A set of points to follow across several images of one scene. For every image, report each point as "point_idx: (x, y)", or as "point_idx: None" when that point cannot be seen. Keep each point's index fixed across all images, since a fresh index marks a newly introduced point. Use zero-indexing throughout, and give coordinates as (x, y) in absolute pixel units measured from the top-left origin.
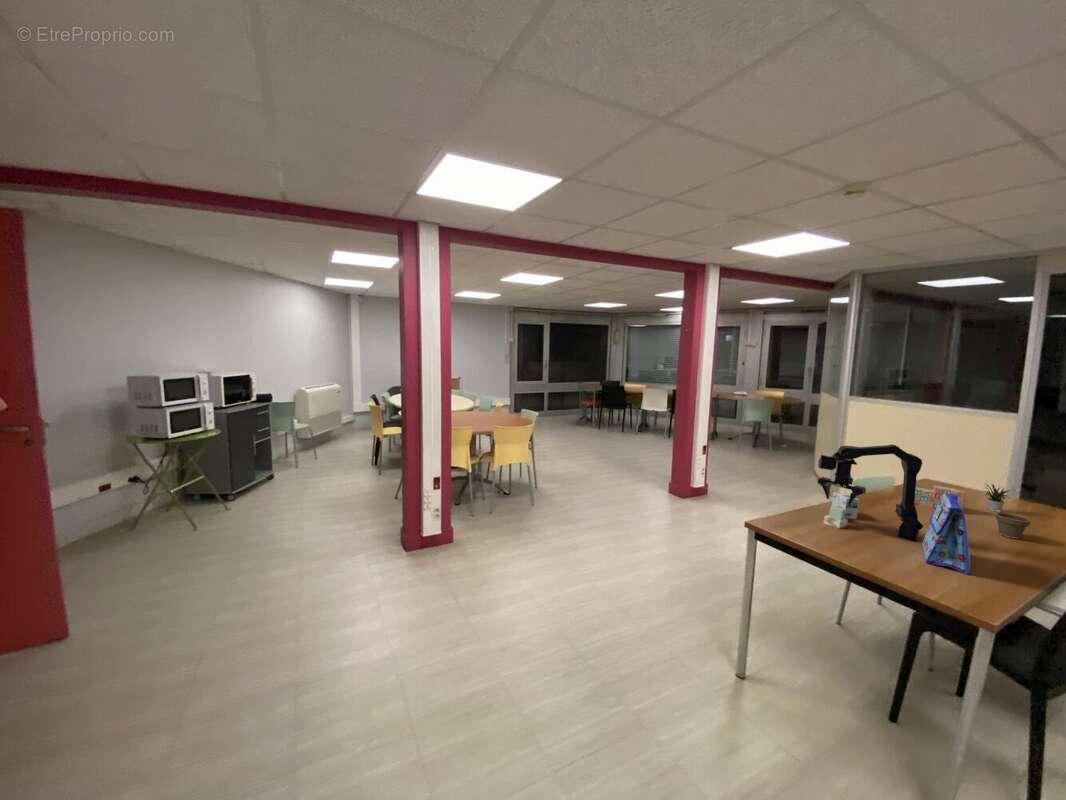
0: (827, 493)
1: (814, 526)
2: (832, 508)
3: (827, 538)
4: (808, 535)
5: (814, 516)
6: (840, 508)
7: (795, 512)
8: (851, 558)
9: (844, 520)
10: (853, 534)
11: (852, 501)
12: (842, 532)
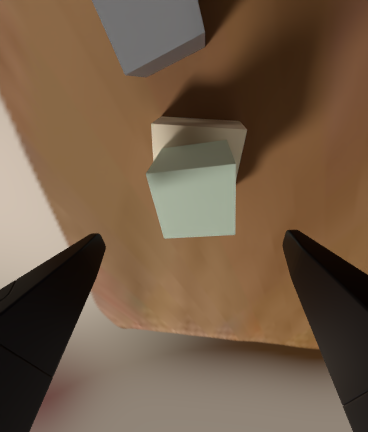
0: (77, 317)
1: (169, 245)
2: (177, 235)
3: (232, 288)
4: (196, 302)
5: (93, 139)
6: (207, 193)
7: (41, 174)
8: (299, 330)
9: (238, 168)
10: (285, 200)
11: (338, 265)
12: (248, 217)
